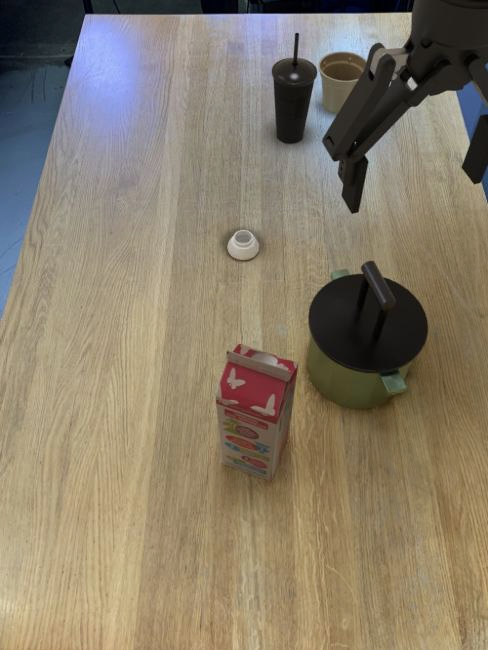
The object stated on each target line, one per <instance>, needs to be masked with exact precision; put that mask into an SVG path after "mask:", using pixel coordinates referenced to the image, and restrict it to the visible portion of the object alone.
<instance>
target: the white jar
mask: <svg viewBox="0 0 488 650" xmlns="http://www.w3.org/2000/svg"><path fill="white" fill-rule="evenodd" d="M226 248H227V252H228V254H229V255H230V256H231V257H232V258H234V259H236V260H239V261H240V260H241V261H246V260H251V259H253V258H255V257H256V256H257V255H258V253H259V251H260V244H259V241H258V239H256V237H255V236H254V235H253V233H252V232H250V231H249V230H247V229H240V230H238V231H236V232H234V234H233V235H232V237H231V238H230V239H229V241H228V243H227V246H226Z"/></svg>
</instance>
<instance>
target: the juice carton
mask: <svg viewBox="0 0 488 650" xmlns="http://www.w3.org/2000/svg"><path fill="white" fill-rule="evenodd" d="M298 368H299V362H296V361H293V360H291V359H287V358H284V357H281V356H279V355H276V354H273V353H269V352H267V351H264V350H260V349H257V348H255V347H252V346H248V345H245V344H242V343H238V344H237V345H236V347H235V348H234V349H233V351H230V350H229V349H227V350H226V363H225V366H224V368H223V371H222V374H221V377H220V380H219V383H218V386H217V389H216V392H215V395H214V396H215V397H214V398H215V406H216V415H217V426H218V437H219V447H220V448H219V449H220V457H221V464H222V465H225V466H228V467H230V468H232V469H236V470H238V471H241V472H244V473H247V474H249V475H250V476H254V477H256V478H259V479H262V480H265V481H267V482H269V483H272V481H273V479H274V476H275V474H276V470H277V468H278V466H279V463H280V460H281V457H282V455H283V452H284V450H285V446H286V444H287V442H288V438H289V435H290V430H291V429H290V428H291V422H292V415H293V407H294V399H295V394H296V385H297V378H298Z"/></svg>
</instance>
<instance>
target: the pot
mask: <svg viewBox="0 0 488 650" xmlns="http://www.w3.org/2000/svg"><path fill="white" fill-rule="evenodd" d="M346 275H351V273H350V271H349V269H348V268H343V269H338V270H335V271H331V272H330V275H329V278H330V279H331V281H333V280H335V279H337V278H339V277H343V276H346ZM412 362H413V361H412ZM412 362H410V363H409V364H407V365H406V366H404V367H402V368H400V369H397V370H394V371H391V372H386V373H377V374H373V373H362V372H357V371H353V370H350V369H348V368H345V367H343V366H341V365H339V364H337V363H335V362H334V361H332V360H331V359H330V358H328V357H327V356H326V355H325V354H324V353H323V352H322V351H321V350H320V349H319V347H318V346H317V345H316V343H315V342H314V340H313V338H312V335H311V333H310V332H309V338H308V343H307V351H306V366H305V367H306V370H307V374H308V377H309V380H310V382H311V383H312V385H313V387H314V388H315V389H316V390H317V391H318V393H319V394H321V395H322V396H323V397H324V398H325V399H326V400H329V401H330V402H331V403H334V404H336V405H338V406H341V407H344V408H347V409H352V410H353V409H355V410H368V409H372V408H376V407H379V406H382V405H384V404H386V403H387V402H389V401H390V400H392V399H393V398H394V397H395V395H397V394H400V393H403V392H406V391H407V389H408V386H407V384H406V382H405V378H406V376H407V374H408V372H409V369H410V367H411V365H412Z"/></svg>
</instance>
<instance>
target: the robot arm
mask: <svg viewBox="0 0 488 650" xmlns="http://www.w3.org/2000/svg"><path fill="white" fill-rule="evenodd" d="M410 21H411V23H410V34H409V36H408V38H407V40H406V41H405V43H404V45H403V46H402V47H395V48H394V47H393V48H386V47H385V45H384V44H383V43H381V42H377V43H374V44H372V46H371V47H370V48H369V51H368V54H367V59H366V60H367V62H366V66H365V69H364V71H363V73H362V74H361V76H360V78H359V79H358V81H357V83H356V84H355V86H354V88H353V89H352V91H351V93H350V94H349V96H348V97H347V99H346V101H345V102H344V104H343V106H342V107H341V109H340V111H339V112H338V114H336V116H335V117H334V119H333V120H332V123H331V124H330V125H329V127H328V129H327V131H326V132H325V134H324V135H323V137H322V139H321V143H322V145H323V146H324V148H325V150H326V151H327V153H328V155H329V157H330V158H331V160H332V162H338V167H337V168H338V169H337V176H338V178H339V180H340V181H341V183H342V189H341V198H342V200H343V202H344V204H345V205H346V207H347V209H348V210H349V212H350V214H351V215H353V214H357V213H359V212H360V207H361V202H362V198H363V192H364V187H365V182H366V177H367V172H368V168H369V160H368V158H367V156H366V154H367V153H368V152H369V151H370V150H371V149H372V148H373V147H374V146H375V145H376V144H377V143H378V142H379V141H380V140H381V139H382V138H383V137H384V136H385V134H386V133H388V131H390V130H391V128H393V126H394V125H395V124H396V123H397V122H398V121H399V120H400V119H401V118H402V117H403V116H404V115H405V114H406V112H408V110H410V109H411V108H416V107H418V106H419V105H420V104H421V103H423V101H424V100H426V98H427V97H428V96H429V97H433V96H438V95H441V94H443V93H445V92H457V91H461V90H464V87H465V86H467V85H468V84H470V83H471V85H472V86H473V88H474V89H475V91H476V92H477V94H478V96H479V97H480V99H481V100H482V102H483V103H484V106H486V108H487V109H488V69H487V65H488V0H414V2H413V6H412V11H411V20H410ZM410 79H412V81H413V82H414V84H415V85H416V87H414V89H412V88H411V86H410V85H409V84H408V83H409V80H410ZM487 168H488V113H484V114H481V115H480V116H479V117H478V121H477V124H476V127H475V129H474V131H473V134H472V137H471V140H470V143H469V146H468V148H467V151H466V154H465V156H464V158H463V162H462V164H461V169H462V171H463V172H464V173H465V175H466V176H467V177H468V179H469V180H470V181H471V182H472V184H473V185H479V184H481V183H482V180H483V178H484V176H485V174H486V171H487Z"/></svg>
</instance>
